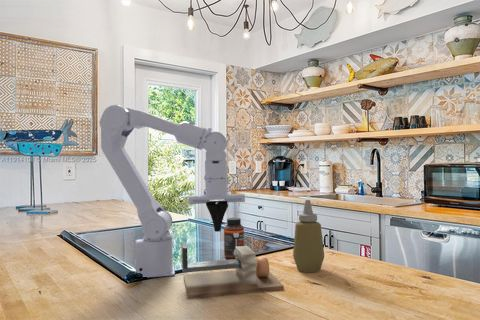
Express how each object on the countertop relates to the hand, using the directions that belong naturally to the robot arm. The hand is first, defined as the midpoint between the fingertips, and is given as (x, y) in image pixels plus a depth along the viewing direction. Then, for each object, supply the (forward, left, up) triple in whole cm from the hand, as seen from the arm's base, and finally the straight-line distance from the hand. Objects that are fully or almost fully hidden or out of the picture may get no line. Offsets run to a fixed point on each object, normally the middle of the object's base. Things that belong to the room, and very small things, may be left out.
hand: (217, 230), depth 97 cm
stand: (+1, -10, -10) cm, 15 cm away
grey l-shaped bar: (-2, -10, -6) cm, 12 cm away
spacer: (+8, -10, -7) cm, 15 cm away
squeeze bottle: (+23, -5, -11) cm, 26 cm away
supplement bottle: (+7, +13, -11) cm, 18 cm away
